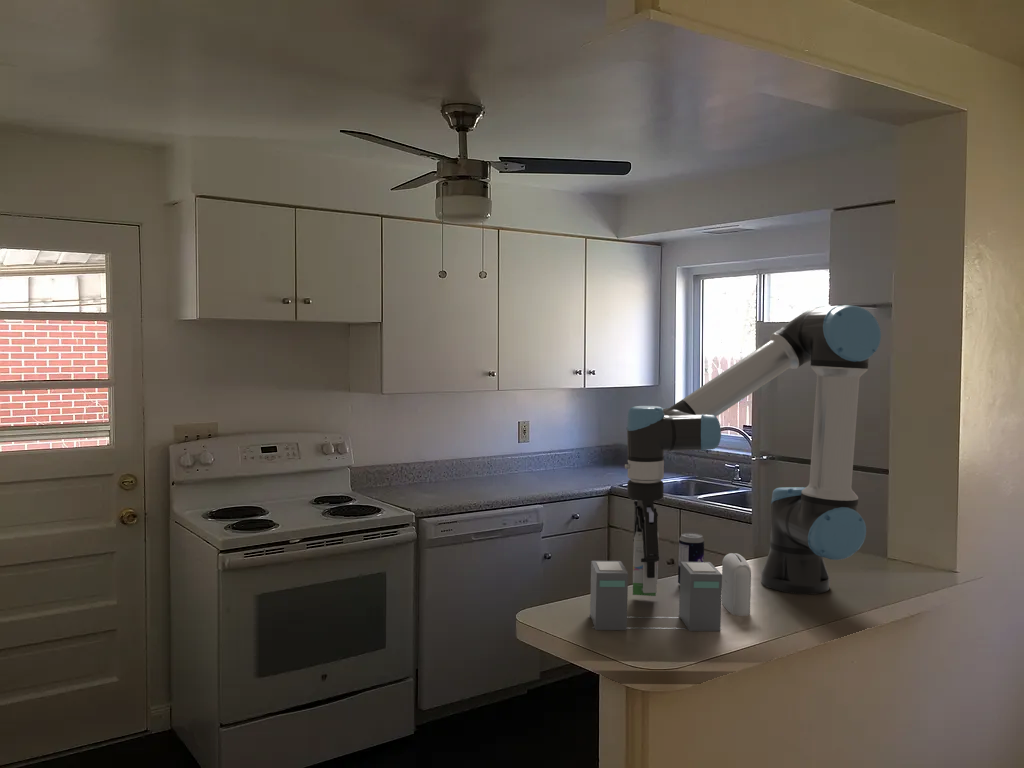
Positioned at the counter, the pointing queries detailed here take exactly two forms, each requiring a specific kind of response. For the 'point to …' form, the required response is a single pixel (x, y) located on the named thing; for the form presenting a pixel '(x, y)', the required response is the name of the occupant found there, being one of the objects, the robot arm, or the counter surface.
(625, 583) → the module
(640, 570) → the ink box
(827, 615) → the counter surface
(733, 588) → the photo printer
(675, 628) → the rail
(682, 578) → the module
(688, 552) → the beverage can
